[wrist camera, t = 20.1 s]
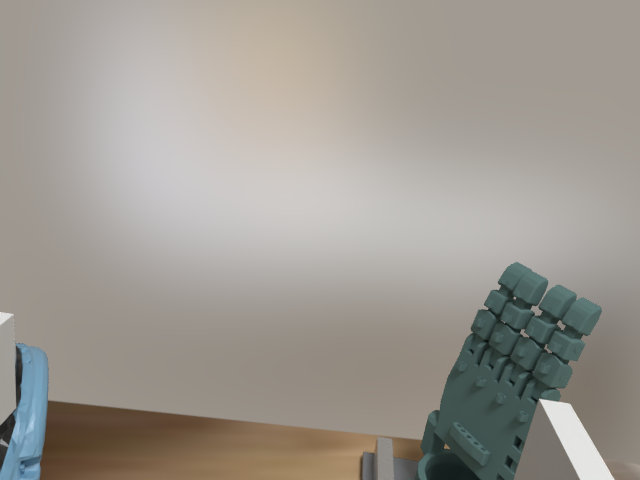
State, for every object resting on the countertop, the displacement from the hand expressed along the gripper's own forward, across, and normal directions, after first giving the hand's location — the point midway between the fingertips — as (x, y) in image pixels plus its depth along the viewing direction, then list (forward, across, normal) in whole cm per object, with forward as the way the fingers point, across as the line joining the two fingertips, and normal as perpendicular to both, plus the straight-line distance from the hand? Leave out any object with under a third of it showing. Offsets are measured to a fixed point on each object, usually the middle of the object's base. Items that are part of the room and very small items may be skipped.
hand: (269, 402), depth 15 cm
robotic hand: (+29, +17, -31) cm, 46 cm away
